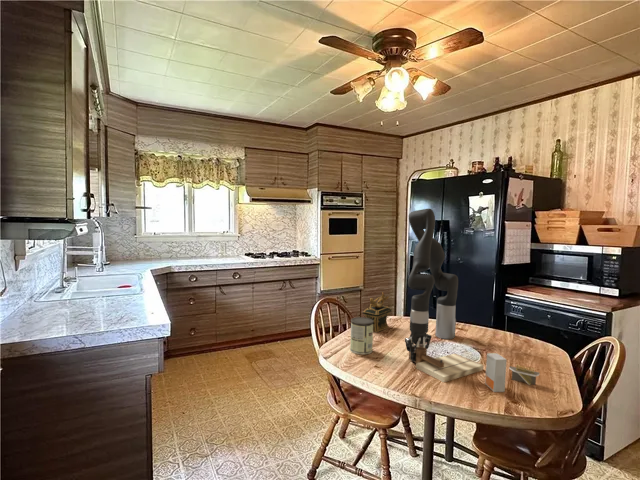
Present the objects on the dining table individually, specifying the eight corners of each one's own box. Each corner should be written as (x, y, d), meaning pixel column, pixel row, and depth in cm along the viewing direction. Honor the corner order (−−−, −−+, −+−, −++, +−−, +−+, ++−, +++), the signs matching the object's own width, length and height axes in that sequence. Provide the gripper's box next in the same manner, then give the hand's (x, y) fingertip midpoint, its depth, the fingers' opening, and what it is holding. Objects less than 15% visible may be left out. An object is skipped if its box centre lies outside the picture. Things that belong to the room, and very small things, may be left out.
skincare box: (484, 384, 132) (486, 353, 132) (495, 384, 133) (497, 352, 132) (493, 392, 126) (495, 359, 125) (505, 392, 127) (507, 359, 126)
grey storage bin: (551, 397, 125) (553, 379, 124) (495, 383, 134) (496, 366, 134) (551, 384, 135) (552, 367, 135) (498, 372, 144) (499, 356, 144)
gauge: (414, 357, 155) (414, 343, 155) (445, 371, 141) (446, 357, 140) (407, 358, 153) (408, 345, 153) (438, 373, 139) (439, 358, 138)
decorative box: (377, 333, 187) (378, 297, 186) (361, 329, 193) (362, 294, 192) (394, 325, 203) (396, 291, 202) (379, 322, 209) (381, 289, 208)
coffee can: (352, 345, 169) (353, 316, 169) (374, 348, 166) (375, 318, 165) (347, 352, 160) (348, 321, 159) (370, 356, 156) (371, 324, 156)
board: (454, 357, 157) (454, 353, 157) (483, 369, 145) (483, 364, 145) (415, 368, 145) (416, 363, 145) (443, 382, 133) (444, 376, 133)
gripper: (424, 316, 157) (422, 354, 158) (400, 320, 149) (398, 359, 150) (437, 320, 150) (435, 360, 151) (413, 324, 143) (411, 366, 144)
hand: (417, 359), depth 151 cm, fingers closed on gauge, 4 cm apart
